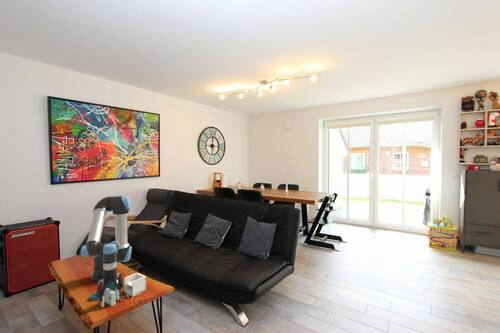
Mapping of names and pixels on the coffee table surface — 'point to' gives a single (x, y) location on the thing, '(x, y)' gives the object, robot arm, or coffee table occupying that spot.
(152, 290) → the coffee table surface
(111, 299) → the door
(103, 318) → the coffee table surface
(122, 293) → the small parts
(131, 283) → the cabinet
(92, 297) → the bracket
